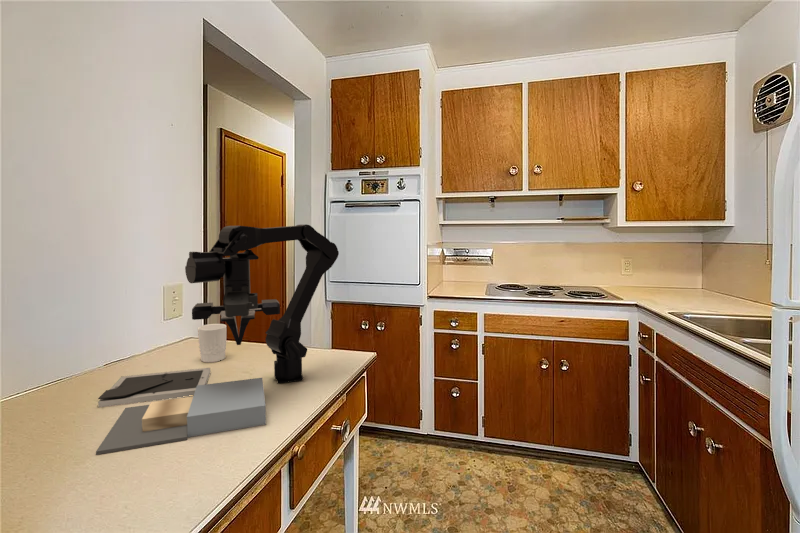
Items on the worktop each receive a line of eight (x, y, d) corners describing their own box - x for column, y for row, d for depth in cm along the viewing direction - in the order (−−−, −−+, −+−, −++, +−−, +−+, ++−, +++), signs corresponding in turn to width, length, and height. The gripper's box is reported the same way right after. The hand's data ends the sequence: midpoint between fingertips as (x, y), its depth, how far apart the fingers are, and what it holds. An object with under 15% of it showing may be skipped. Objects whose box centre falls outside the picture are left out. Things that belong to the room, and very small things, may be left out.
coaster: (194, 407, 85) (194, 396, 85) (189, 424, 77) (189, 412, 77) (151, 413, 82) (151, 402, 82) (142, 431, 74) (141, 419, 74)
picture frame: (98, 410, 86) (203, 397, 93) (97, 398, 86) (203, 386, 93) (121, 384, 101) (210, 374, 108) (121, 373, 100) (210, 364, 107)
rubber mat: (198, 400, 90) (197, 398, 89) (187, 439, 73) (186, 436, 73) (125, 410, 84) (125, 407, 84) (96, 454, 68) (95, 451, 68)
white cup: (220, 363, 115) (218, 330, 114) (193, 363, 115) (192, 329, 114) (231, 355, 123) (231, 323, 122) (207, 354, 123) (205, 323, 122)
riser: (262, 393, 94) (262, 377, 93) (265, 424, 79) (265, 405, 79) (197, 402, 89) (196, 385, 88) (187, 437, 74) (186, 416, 73)
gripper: (187, 285, 80) (190, 359, 82) (281, 282, 87) (282, 350, 89) (193, 279, 91) (196, 345, 92) (277, 276, 98) (278, 337, 99)
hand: (238, 344), depth 93 cm, fingers closed
